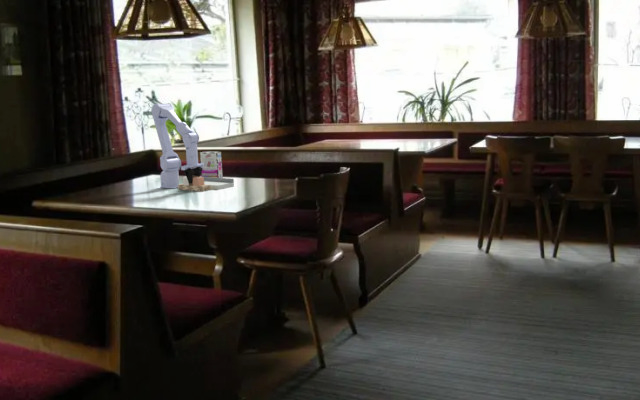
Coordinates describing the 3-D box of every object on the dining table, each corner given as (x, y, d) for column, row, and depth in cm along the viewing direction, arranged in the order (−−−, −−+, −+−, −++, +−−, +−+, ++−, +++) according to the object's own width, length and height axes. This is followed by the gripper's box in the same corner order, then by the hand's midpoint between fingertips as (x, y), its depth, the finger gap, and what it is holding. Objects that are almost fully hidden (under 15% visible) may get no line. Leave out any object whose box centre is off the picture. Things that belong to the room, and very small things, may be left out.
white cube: (183, 184, 354) (182, 177, 353) (189, 183, 357) (188, 176, 357) (188, 185, 352) (188, 177, 351) (194, 184, 355) (194, 176, 354)
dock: (184, 186, 364) (184, 179, 363) (200, 183, 374) (200, 176, 373) (218, 189, 350) (217, 181, 350) (233, 186, 360) (233, 178, 359)
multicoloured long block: (178, 189, 356) (177, 175, 355) (185, 187, 360) (184, 174, 359) (203, 191, 346) (202, 177, 345) (210, 190, 350) (209, 176, 349)
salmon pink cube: (193, 185, 350) (192, 177, 349) (198, 184, 353) (198, 176, 353) (198, 186, 348) (198, 178, 347) (204, 184, 351) (203, 177, 350)
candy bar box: (223, 180, 382) (221, 151, 380) (218, 182, 378) (217, 152, 375) (205, 180, 387) (204, 151, 384) (201, 181, 382) (199, 152, 379)
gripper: (187, 157, 342) (189, 184, 344) (207, 154, 354) (209, 181, 356) (177, 157, 346) (179, 184, 348) (197, 154, 358) (199, 180, 360)
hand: (193, 182), depth 352 cm, fingers closed on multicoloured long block, 4 cm apart
